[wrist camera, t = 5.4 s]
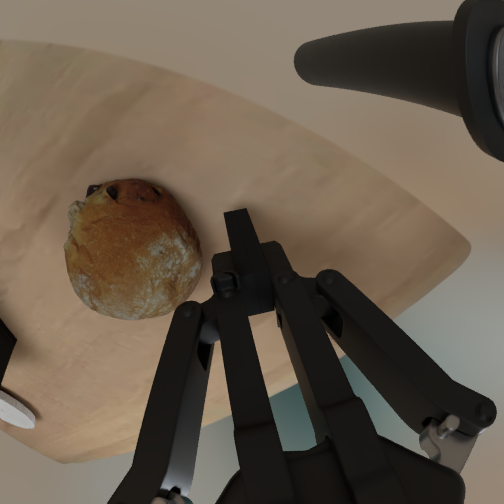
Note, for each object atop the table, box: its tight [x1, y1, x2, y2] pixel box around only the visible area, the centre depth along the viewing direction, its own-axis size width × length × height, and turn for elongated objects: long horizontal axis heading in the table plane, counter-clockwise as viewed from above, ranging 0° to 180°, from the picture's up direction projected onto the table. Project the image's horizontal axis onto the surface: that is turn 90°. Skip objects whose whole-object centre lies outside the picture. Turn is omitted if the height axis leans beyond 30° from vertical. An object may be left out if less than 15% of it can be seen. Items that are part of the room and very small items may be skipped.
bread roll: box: [63, 179, 203, 320], centre depth 19 cm, size 10×10×8 cm
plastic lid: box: [0, 390, 36, 429], centre depth 30 cm, size 14×14×2 cm
